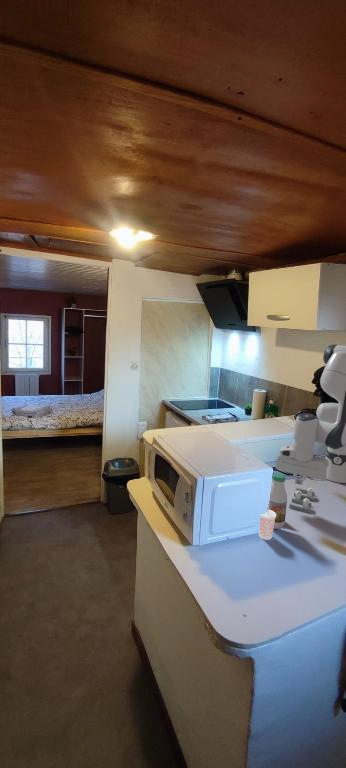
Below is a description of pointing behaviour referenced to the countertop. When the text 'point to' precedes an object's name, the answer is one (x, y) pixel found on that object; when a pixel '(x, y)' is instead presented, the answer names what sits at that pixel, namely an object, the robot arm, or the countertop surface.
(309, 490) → the tab
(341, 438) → the robot arm
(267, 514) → the beverage cup
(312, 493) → the switch bank
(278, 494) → the milk bottle
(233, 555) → the countertop surface
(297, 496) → the tab
